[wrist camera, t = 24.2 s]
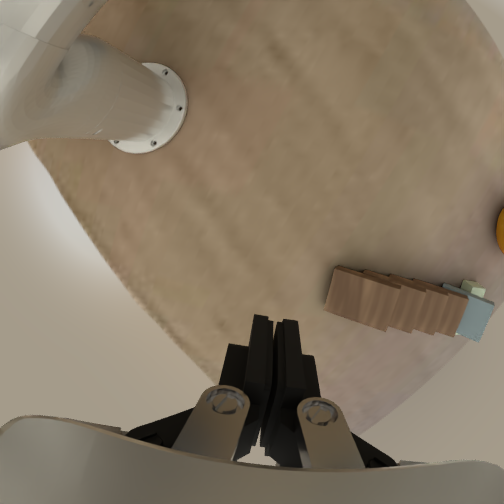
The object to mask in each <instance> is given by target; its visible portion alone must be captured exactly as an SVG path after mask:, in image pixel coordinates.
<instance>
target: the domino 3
mask: <svg viewBox="0 0 504 504" xmlns="http://www.w3.org/2000/svg"><path fill="white" fill-rule="evenodd" d="M389 277H391V278H394V279H397V280H400V281H404V282H407V283H410V284H413V285H416V286H419V287H422V288H425V289H426V295H425V298H424V301H423V303H422V306H421V309H420V312H419V314H418V317H417V320H416V322H415V325H414V327H413V329H415V330H418V331H421V332H424V333H427V334H430V335H434V333H435V331H436V328H437V326H438V323H439V321H440V318H441V316H442V313H443V311H444V308H445V305H446V303H447V300H448V297H449V295H448V292H446V291H442V290H439V289H436V288H433V287H430V286H427V285H424V284H421V283H418V282H415V281H412V280H409V279H406V278H403V277H399V276H396V275H393V274H390V276H389Z"/></svg>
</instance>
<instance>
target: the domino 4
mask: <svg viewBox="0 0 504 504" xmlns="http://www.w3.org/2000/svg"><path fill="white" fill-rule="evenodd" d="M413 281H415V282H418V283H421V284H424V285H427V286H430V287H433V288H436V289H439V290H442V291H446V292H448V295H449V297H448V300H447V303H446V305H445V308H444V311H443V313H442V316H441V318H440V321H439V323H438V326H437V328H436V331H435V332H439V333H442V334H445V335H448V336H451V337H454V336H455V333H456V331H457V329H458V326H459V324H460V321H461V319H462V316H463V314H464V311H465V309H466V306H467V304H468V301H469V299H468V296H467V295H464V294H461V293H457V292H454V291H451V290H448V289H445V288H442V287H439V286H436V285H433V284H430V283H427V282H424V281H421V280H417V279H414V278H413Z"/></svg>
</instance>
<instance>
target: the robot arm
mask: <svg viewBox="0 0 504 504" xmlns="http://www.w3.org/2000/svg"><path fill="white" fill-rule="evenodd" d="M107 1H108V0H0V150H2V149H5V148H8V147H11V146H13V145H16V144H19V143H22V142H25V141H29V140H34V139H41V138H77V139H100V140H108V141H109V142H110V143H111V144H112V145H113V146H115V147H116V148H118V149H119V150H122V151H124V152H128V153H133V154H141V153H148V152H151V151H154V150H157V149H159V148H160V147H162V146H164V145H165V144H166V143H168V142H169V141H170V140H171V139H172V138H173V137H174V136H175V135H176V134H177V132H178V131H179V129H180V127H181V126H182V124H183V121H184V119H185V117H186V112H187V107H188V97H187V92H186V88H185V86H184V83H183V81H182V80H181V79H180V77H179V76H178V75H177V74H176V73H175V72H174V71H173V70H171V69H170V68H169V67H167V66H164V65H162V64H159V63H153V62H146V63H139V62H138V61H136V60H135V59H133V58H131V57H130V56H128V55H127V54H125V53H123V52H122V51H120V50H119V49H117V48H115V47H114V46H112V45H110V44H109V43H107V42H105V41H103V40H102V39H100V38H97V37H95V36H92V35H87V34H80V33H81V32H82V30H83V29H84V28H85V27H86V25H87V24H88V23H89V22H90V20H91V19H92V18H93V17H94V16H95V14H96V13H97V12H98V11H99V10H100V9H101V7H102V6H103V5H104V4H105V3H106V2H107ZM166 73H168V74H167V75H166ZM181 107H182V110H181V111H180V110H179V109H180V108H181ZM118 141H119V142H118ZM155 142H157V144H156V145H155V144H154V143H155ZM260 428H261V435H260V447H265V456H270V457H271V458H273V459H274V460H275V461H276V466H269V465H260V464H251V463H244V462H237V460H238V459H239V458H241V457H243V456H245V455H247V454H249V453H250V449H251V446H255V445H256V442H257V438H258V435H259V431H260ZM0 504H504V470H503V469H502V468H501V467H499V466H498V465H495V464H492V463H489V462H484V461H477V460H455V461H444V462H434V463H424V462H412V461H402V460H400V461H399V463H396V462H395V461H394V460H393V459H392V458H391V457H389V456H388V455H386V454H385V453H383V452H381V451H380V450H378V449H377V448H375V447H373V446H372V445H370V444H369V443H367V442H366V441H364V440H362V439H361V438H359V437H358V436H356V435H355V434H353V433H352V432H350V429H349V427H348V425H347V422H346V420H345V417H344V415H343V413H342V411H341V409H340V408H339V406H337V405H336V404H335V403H334V402H332V401H330V400H328V399H325V398H321V395H320V389H319V383H318V377H317V371H316V365H315V359H314V356H312V355H303V354H302V351H301V343H300V334H299V326H298V321H295V320H288V319H283V321H282V322H277V325H276V329H275V334H274V338H273V321H270V320H268V316H262V315H256V314H254V318H253V324H252V330H251V335H250V341H249V346H242V345H236V344H230V343H229V345H228V349H227V353H226V357H225V361H224V365H223V369H222V373H221V377H220V381H219V385H217V386H213V387H210V388H208V389H206V390H205V391H204V392H203V394H202V395H201V397H200V399H199V401H198V403H197V404H196V406H195V407H194V408H191V409H189V410H186V411H183V412H180V413H178V414H175V415H172V416H169V417H167V418H163V419H161V420H158V421H155V422H152V423H149V424H145V425H142V426H139V427H136V428H134V429H132V430H130V431H129V432H125V431H121V428H120V427H113V426H106V425H101V424H94V423H89V422H84V421H78V420H74V419H69V418H59V417H53V416H43V415H25V416H20V417H17V418H14V419H12V420H10V421H9V422H7V423H6V424H4V425H3V426H2V427H1V428H0Z"/></svg>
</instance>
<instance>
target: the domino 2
mask: <svg viewBox="0 0 504 504" xmlns="http://www.w3.org/2000/svg"><path fill="white" fill-rule="evenodd" d="M363 274H366V275H369V276H372V277H376V278H379V279H382V280H385V281H388V282H391V283H394V284H397V285H400V286H401V289H400V292H399V295H398V299H397V301H396V304H395V307H394V310H393V313H392V316H391V319H390V321H389V324H388V326H390V327H393V328H396V329H399V330H402V331H405V332H408V333H411V332H412V330H413V327H414V325H415V322H416V320H417V317H418V314H419V312H420V309H421V306H422V303H423V301H424V298H425V295H426V289H425V288H422V287H419V286H416V285H413V284H410V283H407V282H404V281H400V280H397V279H394V278H391V277H388V276H385V275H382V274H378V273H375V272H372V271H369V270H366V269H365V271H364V272H363Z"/></svg>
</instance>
